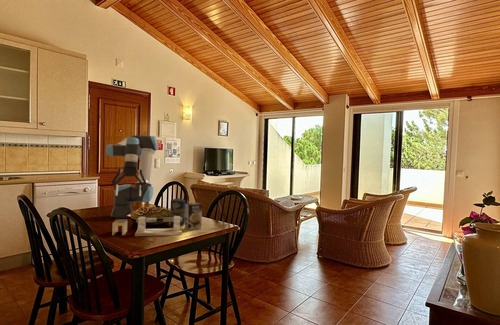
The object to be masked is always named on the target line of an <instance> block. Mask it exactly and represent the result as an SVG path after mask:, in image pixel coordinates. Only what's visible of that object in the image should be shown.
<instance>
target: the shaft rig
mask: <svg viewBox="0 0 500 325" xmlns="http://www.w3.org/2000/svg"><path fill="white" fill-rule="evenodd" d="M181 221H182V217H180V216H174V218H170V217H163V218H162V222H163V223H166V222H167V223H170V222H174V225H173V227H171V228H146V226H147V225H146V223H157V217H146V216H139V217H136V220H135V222H136V223H137V230H136V231H135V232H134V237H153V236H155V237H156V236H157V237H158V236H181V235H183V234H182V233H183V228H182V227H181V225H180V222H181Z"/></svg>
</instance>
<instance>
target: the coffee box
mask: <svg viewBox="0 0 500 325" xmlns="http://www.w3.org/2000/svg"><path fill="white" fill-rule="evenodd" d="M202 215H203V204H202V202H201V203H200V202H188V203H186V202H185V223H184V229H186V230H187V231H192V230H193V231H194V230H201V229H202V223H203V222H202V220H203V219H202V217H203V216H202Z"/></svg>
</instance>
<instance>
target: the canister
mask: <svg viewBox="0 0 500 325" xmlns="http://www.w3.org/2000/svg"><path fill="white" fill-rule="evenodd" d="M185 208H186V200H185V199H183V198H179V197H178V198H173V199H171V200H170V211H169V212H170V214H169V215H170V216H169V218H174V216H180V217H182V221H181V222H180V226H183V225H185ZM169 224H170V225H171V226H174V222H169Z"/></svg>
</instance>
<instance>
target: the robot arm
mask: <svg viewBox="0 0 500 325" xmlns="http://www.w3.org/2000/svg"><path fill="white" fill-rule="evenodd" d="M156 151H158V140H157V137H156V136H155V135H139V134H138V135H137V134H136V135H130V136H127V137H125V138H122V141H120V142H118V143H116V144H107V145H106V147H105V154H106V155H107V156H108V157H124V165H123V169H122V168H118V169H117V173H116V174H115V175H114V177H113V179H112V180H111V184H112V185H114V187H113V190H114V192H113V208H112V211H111V213H110V218H112V217H114V218H113V219H128V218H127V215H128V214H130V213H131V212H133V213H134V210H133V208H132V207H133V206H132V203H149V202H151V201H152V199H153V195H154V186H152V183H150V182H151V174H152V164H153V163H152V162H153V155H154V154H155V152H156ZM139 159H140V160H139ZM138 160H139V168H138ZM122 173H123V174H122ZM137 173H138V175H137ZM121 174H122V175H121ZM120 175H121V176H120ZM119 176H120V177H119ZM126 177H128V178H130V177H131V178H133V177H135V179H136V180H137V182H135V184H134V186H132V184H130V183H129V184H121V185H120V184H119V183H120V182H121V181H122V180H124V178H126Z"/></svg>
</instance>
